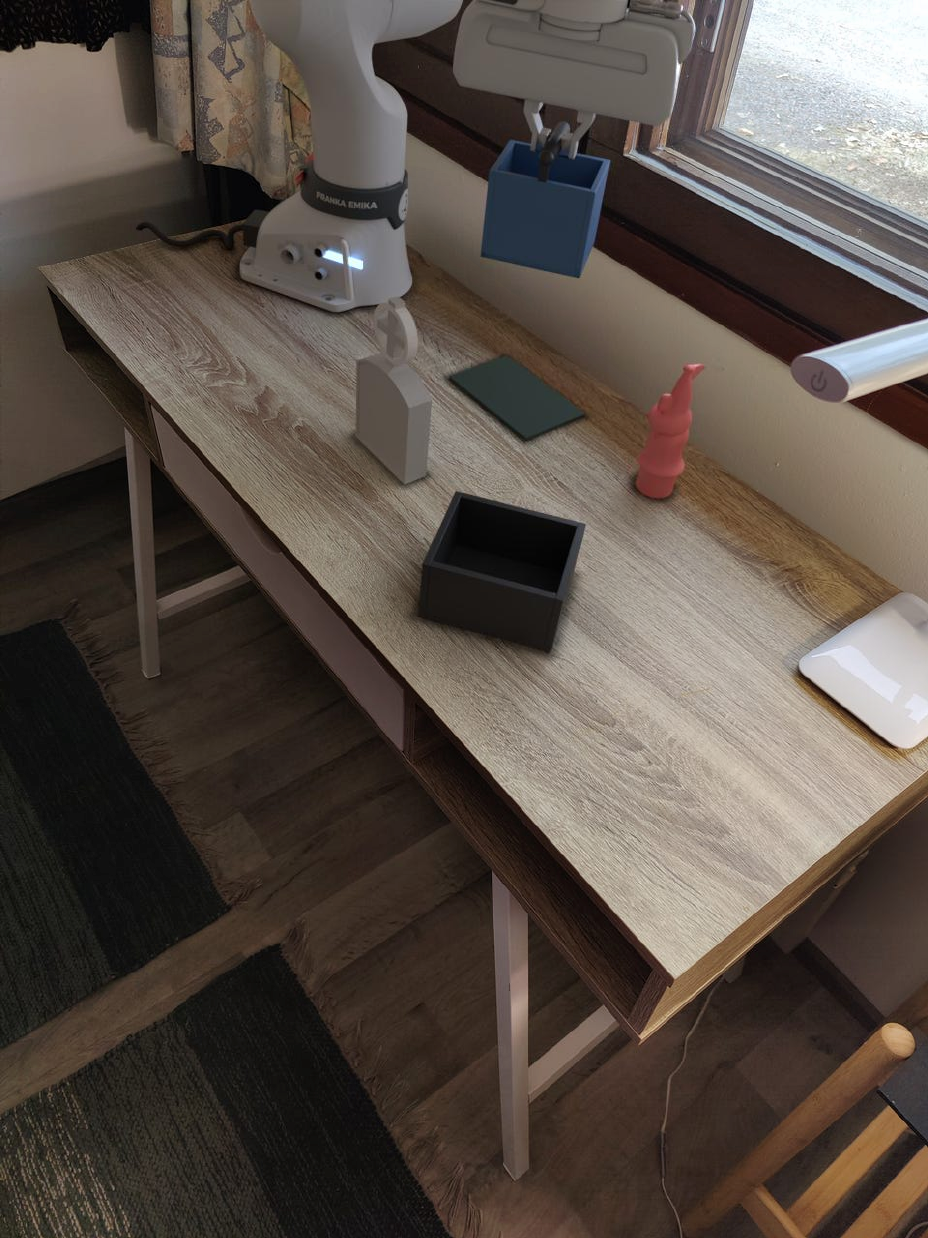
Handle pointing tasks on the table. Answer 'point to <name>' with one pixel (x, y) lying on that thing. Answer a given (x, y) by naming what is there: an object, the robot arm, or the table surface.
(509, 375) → the mat
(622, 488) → the table surface
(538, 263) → the blue bin
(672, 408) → the figurine
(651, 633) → the table surface
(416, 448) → the gravestone
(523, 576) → the charcoal bin
